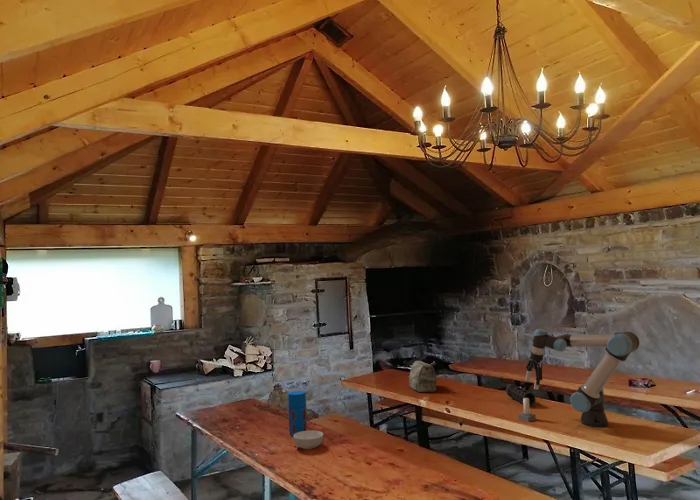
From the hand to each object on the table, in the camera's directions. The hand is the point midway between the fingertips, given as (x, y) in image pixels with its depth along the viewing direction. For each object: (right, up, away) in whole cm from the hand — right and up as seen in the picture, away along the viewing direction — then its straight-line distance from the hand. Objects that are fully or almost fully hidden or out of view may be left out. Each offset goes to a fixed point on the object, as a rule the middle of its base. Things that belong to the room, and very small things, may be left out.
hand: (531, 384), depth 328 cm
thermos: (-148, -27, -13) cm, 151 cm away
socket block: (-4, -21, -2) cm, 22 cm away
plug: (-4, -21, -2) cm, 22 cm away
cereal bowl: (-140, -26, -37) cm, 147 cm away
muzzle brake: (+5, -23, +38) cm, 45 cm away
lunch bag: (-57, -27, +89) cm, 109 cm away
